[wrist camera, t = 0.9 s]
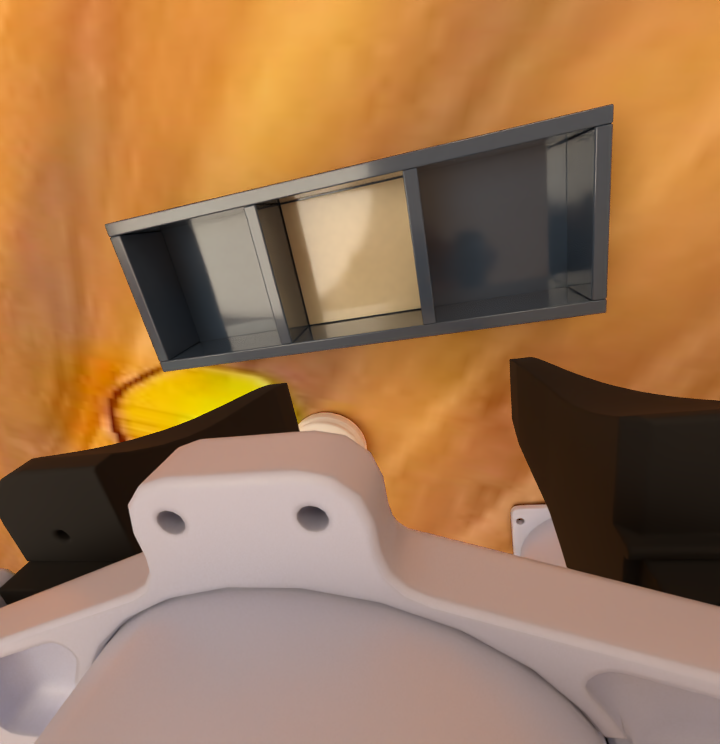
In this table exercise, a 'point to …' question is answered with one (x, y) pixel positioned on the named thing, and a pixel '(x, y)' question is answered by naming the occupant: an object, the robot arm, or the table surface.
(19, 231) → the table surface
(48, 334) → the table surface
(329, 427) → the chess pawn
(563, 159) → the divided storage box
